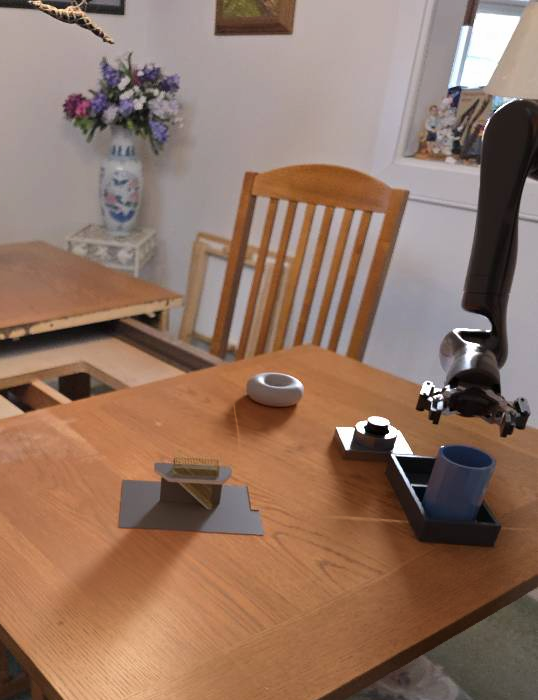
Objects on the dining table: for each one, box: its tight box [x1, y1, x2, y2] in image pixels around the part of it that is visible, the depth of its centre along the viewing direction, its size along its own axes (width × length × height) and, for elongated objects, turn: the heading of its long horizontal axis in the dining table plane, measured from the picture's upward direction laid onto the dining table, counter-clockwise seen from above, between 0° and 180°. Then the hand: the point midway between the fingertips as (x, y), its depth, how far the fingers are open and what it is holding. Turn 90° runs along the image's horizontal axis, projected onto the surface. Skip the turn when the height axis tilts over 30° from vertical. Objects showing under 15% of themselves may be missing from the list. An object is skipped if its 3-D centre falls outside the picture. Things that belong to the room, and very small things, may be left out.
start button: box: [365, 416, 391, 435], centre depth 106 cm, size 3×3×2 cm
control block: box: [333, 420, 415, 464], centre depth 107 cm, size 10×8×4 cm
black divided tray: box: [384, 454, 503, 548], centre depth 94 cm, size 9×18×3 cm, turn 177°
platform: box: [118, 456, 265, 536], centre depth 90 cm, size 12×18×7 cm, turn 88°
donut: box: [245, 372, 305, 408], centre depth 122 cm, size 10×4×10 cm
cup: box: [421, 443, 497, 522], centre depth 88 cm, size 7×7×9 cm
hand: (471, 424), depth 93 cm, fingers open, 8 cm apart
